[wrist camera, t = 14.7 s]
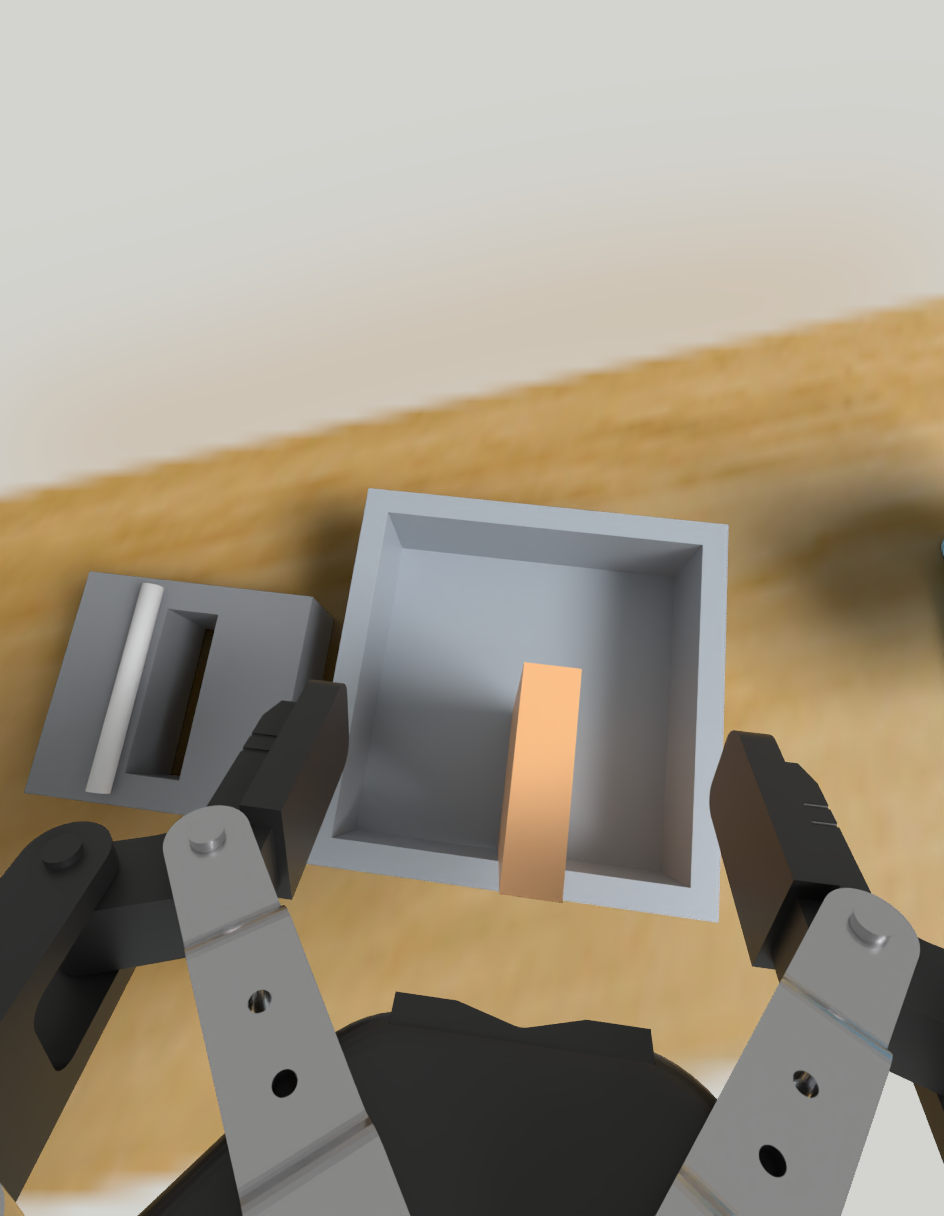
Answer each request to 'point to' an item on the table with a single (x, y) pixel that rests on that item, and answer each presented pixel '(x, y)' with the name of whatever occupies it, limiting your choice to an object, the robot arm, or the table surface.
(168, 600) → the ticket dispenser
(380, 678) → the tray
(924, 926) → the table surface
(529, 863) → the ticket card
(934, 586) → the table surface
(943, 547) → the chair
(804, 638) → the table surface
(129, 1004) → the table surface
